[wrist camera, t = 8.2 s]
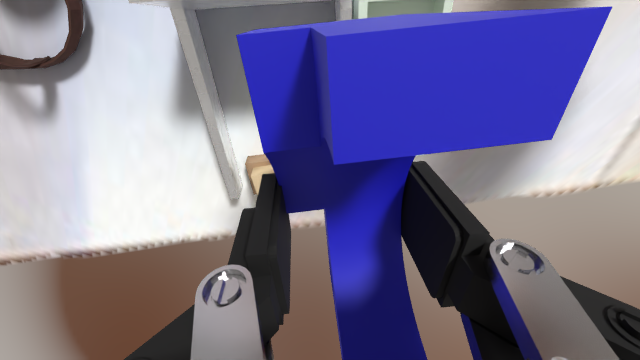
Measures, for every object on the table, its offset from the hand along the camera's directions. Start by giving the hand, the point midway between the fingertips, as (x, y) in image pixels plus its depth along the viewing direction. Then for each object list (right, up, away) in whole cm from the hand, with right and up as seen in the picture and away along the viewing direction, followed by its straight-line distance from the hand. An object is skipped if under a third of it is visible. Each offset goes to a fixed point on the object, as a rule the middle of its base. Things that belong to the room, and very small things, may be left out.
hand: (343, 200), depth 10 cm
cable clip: (0, +1, +1) cm, 1 cm away
